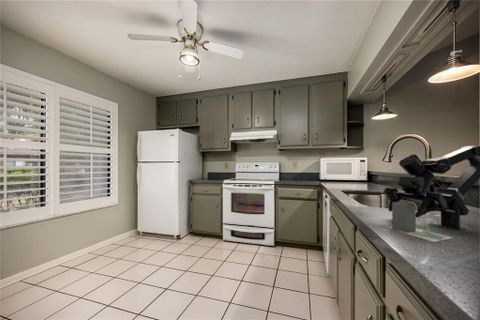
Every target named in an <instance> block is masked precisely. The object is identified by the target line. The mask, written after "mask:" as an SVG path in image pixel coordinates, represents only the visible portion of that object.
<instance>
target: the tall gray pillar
mask: <svg viewBox="0 0 480 320" xmlns="http://www.w3.org/2000/svg"><path fill="white" fill-rule="evenodd" d="M415 204H416V203H415ZM415 204H411V203H405V202H393V203H392V211H391V212H392V214H391V215H392V217H391V218H392V224H391V225H392V226H391V227H392V228H393V229H396V230H400V231H403V232H407V233H408V232H413V231H416V228H417V227H416V225H417V224H416V223H417V222H416V218H417V217H416V216H415V215H416V212H417V210H415Z"/></svg>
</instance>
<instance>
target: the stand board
mask: <svg viewBox="0 0 480 320" xmlns="http://www.w3.org/2000/svg"><path fill="white" fill-rule="evenodd" d="M386 229H389V230H392V231H396V232H399V233H402V234H406V235H409V236H413V237H416V238H419V239H423V240H426V241H429V242H432V243H434V242H439V241H444V240H445V241H446V240H450V239H453V238H454V237H453V236H449V235H445V234H442V233H438V232H433V231H431V230H430V231H429V230H426V229H422V228H418V227H416V231H413V232H408V233H407V232H403V231H400V230H396V229H393V228H392V226H388V227H386Z"/></svg>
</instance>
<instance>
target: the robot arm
mask: <svg viewBox="0 0 480 320" xmlns="http://www.w3.org/2000/svg"><path fill="white" fill-rule="evenodd" d="M463 161H468V162H469V166H468V168H466V169H465V171H463V172H462V174H461V175H460V176H459V177H458V178H457V179H456V180H454V181H453V183H452V184H451V185H450V186H449V187H448V188H444V187H439V188H437V190H436V191H435V192H432V191H430V189H429V188H430V186H431V185H432V184H438V183H439V180H438V179H437V177H436V176H435V175H436V174H437V175H443V174H446V173H447V172H448V171H450V170H451V169H452V166H455V165H457V164H459V163H461V162H463ZM398 165H399V166H400V167H401V168H402V169H403V170H404V171H405V173H407V175H409V176H399V178H398V181H397V185H398V186H400V187H401V190H402V191H403V192H402V191H399V190H398V189H397V187H396V188H395V187H385V188H384V189H383V193H384V195H385V196H386V197H387V199H388V201H389V202H388V211H389V213H390V212H392V203H393V202H399V201H400V200H402V198H403V199H409V200H413V201H419V202H421V204H420V205H419V208H417V210H416V215H415V216H416V218H420V217H423V216H424V215H426V214H428V213H431V212H433V211H436V212H437V211H438V212H440V224H439V223H438V224H437V226H441V227H445V228H449V229H454V230H459V231H462V230H466V227H464V226H463V227H462V219H461V218H462V216H464V217H465V216H468V214H469V212H470V209H469V208H468V207H467V206H466V205H465V199H464V198H465V197H464V196H465V195H466V194H467V193H468V192H469V190H471V189H472V187H474V185H475V184H477V182H478V181H479V180H480V146H479V145H469V146H468V145H467V146H466V145H465V146H462V147H461V148H460V149H456V150H455V151H452V152H449V153H447V154H445V155H443V156H440V157H433V158H427V159H424V160H421V159H420V158H419V156H418V155H417V154H410V155H409V156H406V157H404V158H403V159H401V160H400V161H399V162H398ZM412 176H413V177H412Z"/></svg>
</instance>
